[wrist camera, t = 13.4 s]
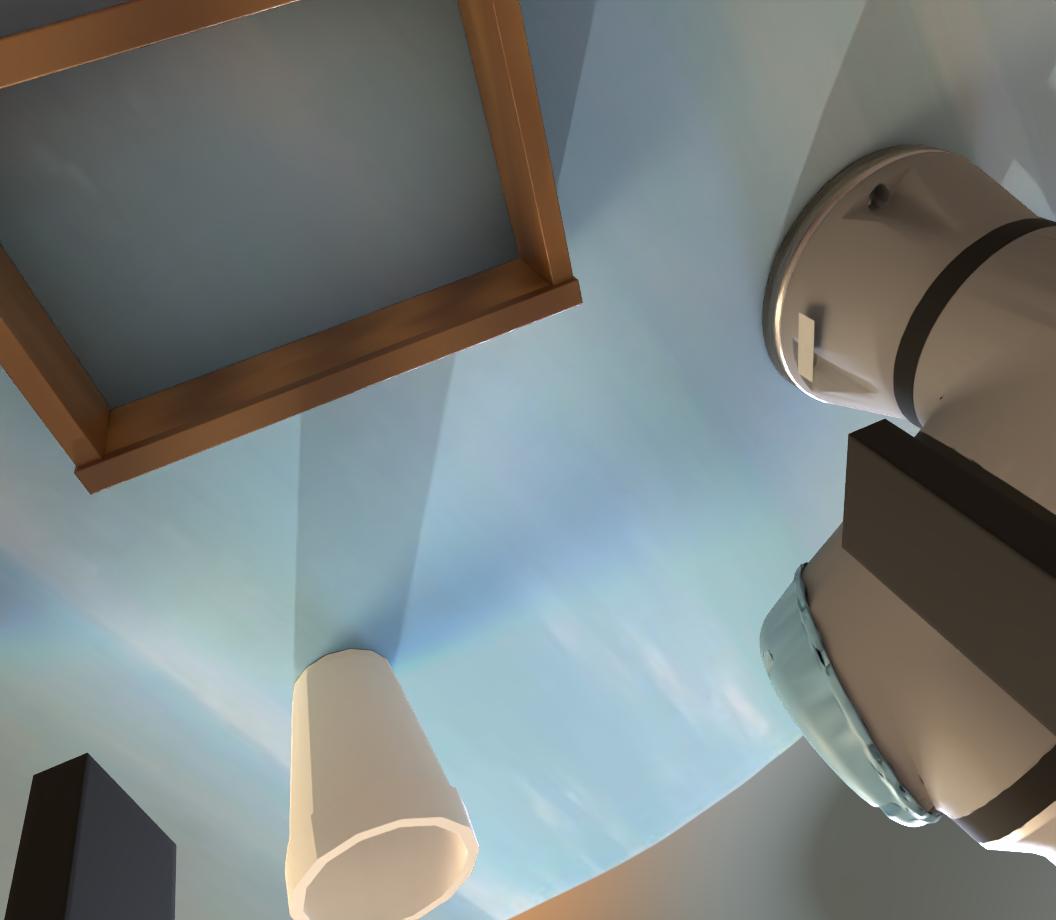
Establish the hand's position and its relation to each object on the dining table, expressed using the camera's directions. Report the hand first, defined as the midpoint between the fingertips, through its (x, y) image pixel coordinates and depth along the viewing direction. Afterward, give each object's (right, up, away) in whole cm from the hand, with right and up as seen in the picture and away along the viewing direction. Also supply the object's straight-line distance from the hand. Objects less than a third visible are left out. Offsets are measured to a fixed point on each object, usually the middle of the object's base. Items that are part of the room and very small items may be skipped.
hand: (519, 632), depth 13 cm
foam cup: (-12, -11, +35) cm, 39 cm away
